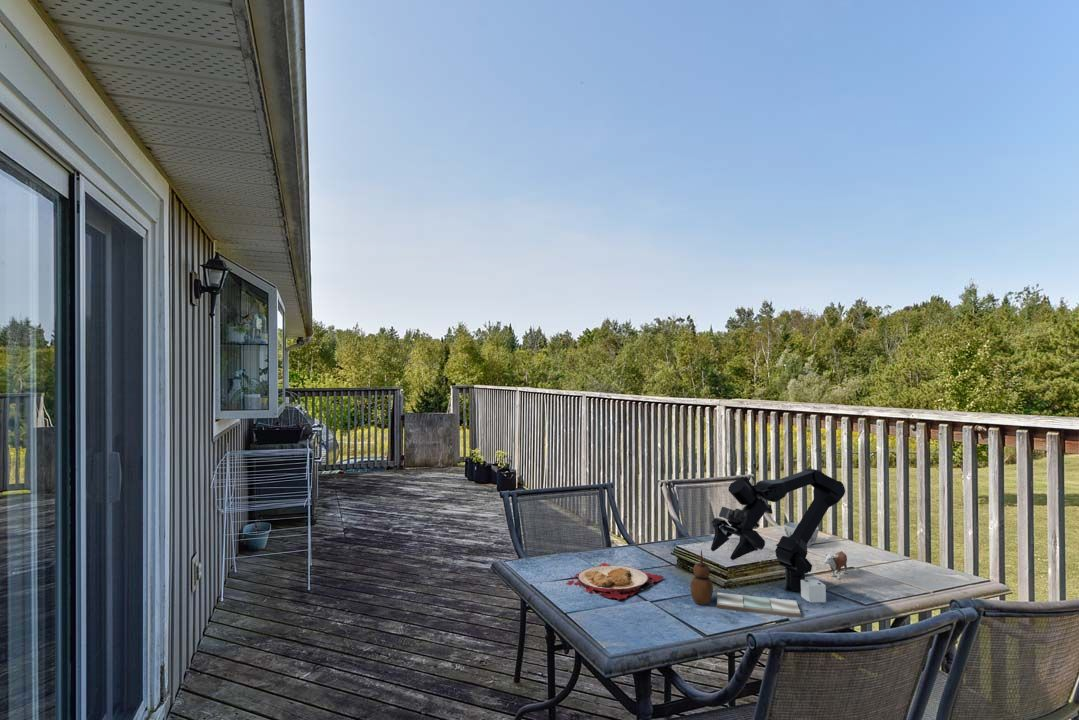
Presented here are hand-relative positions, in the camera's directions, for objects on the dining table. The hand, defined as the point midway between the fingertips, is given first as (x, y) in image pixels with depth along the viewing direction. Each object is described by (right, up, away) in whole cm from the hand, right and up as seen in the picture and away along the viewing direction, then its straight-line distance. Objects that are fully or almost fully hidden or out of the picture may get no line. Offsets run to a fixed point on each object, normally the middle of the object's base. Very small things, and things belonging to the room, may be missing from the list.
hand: (721, 554), depth 172 cm
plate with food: (-31, -15, +15) cm, 38 cm away
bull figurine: (+46, -14, +21) cm, 52 cm away
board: (+9, -13, -6) cm, 17 cm away
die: (+28, -13, 0) cm, 31 cm away
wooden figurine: (-7, -13, -3) cm, 15 cm away
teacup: (+50, -16, +58) cm, 78 cm away
